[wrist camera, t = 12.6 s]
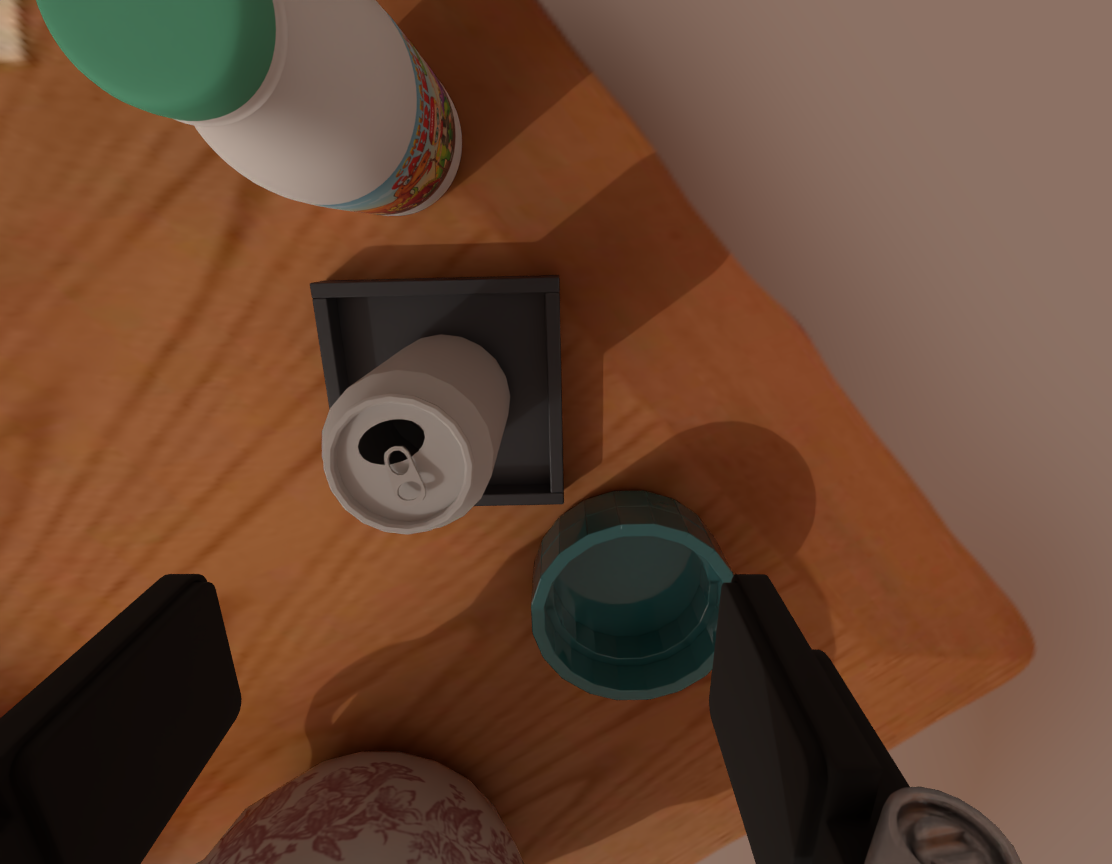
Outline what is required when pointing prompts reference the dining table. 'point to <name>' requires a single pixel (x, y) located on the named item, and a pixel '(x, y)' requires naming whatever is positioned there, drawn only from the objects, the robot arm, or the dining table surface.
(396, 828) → the chamber pot
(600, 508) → the bowl
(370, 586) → the dining table surface
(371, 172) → the milk bottle
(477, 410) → the can
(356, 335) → the tray
